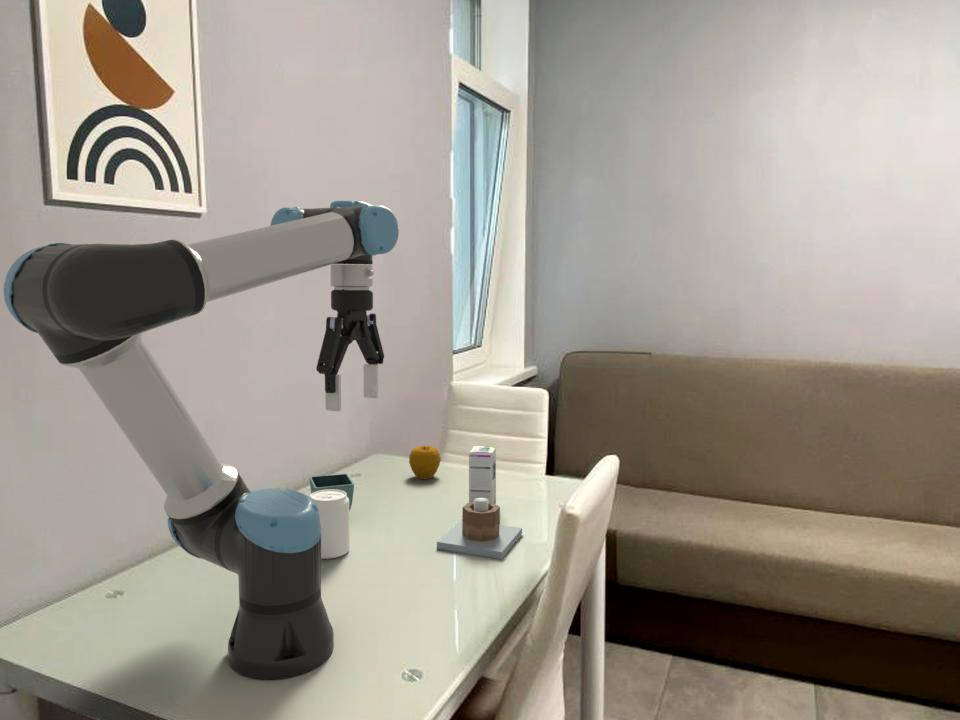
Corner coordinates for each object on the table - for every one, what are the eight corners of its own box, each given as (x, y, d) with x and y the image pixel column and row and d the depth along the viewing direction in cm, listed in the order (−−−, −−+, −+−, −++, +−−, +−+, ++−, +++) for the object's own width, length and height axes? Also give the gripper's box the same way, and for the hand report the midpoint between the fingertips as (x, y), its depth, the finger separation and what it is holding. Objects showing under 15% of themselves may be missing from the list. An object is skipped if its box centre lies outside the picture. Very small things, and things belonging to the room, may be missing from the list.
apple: (428, 470, 199) (428, 440, 198) (446, 478, 193) (447, 446, 192) (403, 476, 194) (403, 444, 193) (421, 483, 187) (421, 451, 186)
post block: (501, 559, 140) (502, 515, 138) (436, 548, 144) (436, 506, 143) (522, 534, 153) (522, 494, 152) (461, 525, 157) (462, 486, 156)
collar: (491, 543, 144) (492, 514, 143) (458, 538, 146) (458, 510, 145) (502, 531, 151) (503, 503, 150) (470, 526, 153) (471, 499, 152)
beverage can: (340, 562, 137) (339, 502, 135) (301, 558, 139) (300, 499, 137) (355, 546, 145) (355, 490, 143) (318, 543, 146) (317, 487, 145)
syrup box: (492, 512, 166) (493, 452, 164) (467, 510, 167) (468, 451, 165) (495, 504, 172) (497, 446, 170) (471, 503, 173) (472, 445, 171)
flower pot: (355, 522, 159) (354, 483, 157) (315, 527, 155) (314, 487, 154) (347, 509, 167) (347, 472, 166) (309, 514, 163) (308, 476, 162)
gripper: (333, 291, 115) (334, 418, 118) (401, 287, 138) (401, 394, 141) (293, 289, 118) (296, 414, 121) (367, 286, 141) (368, 391, 144)
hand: (353, 404), depth 131 cm, fingers open, 13 cm apart
